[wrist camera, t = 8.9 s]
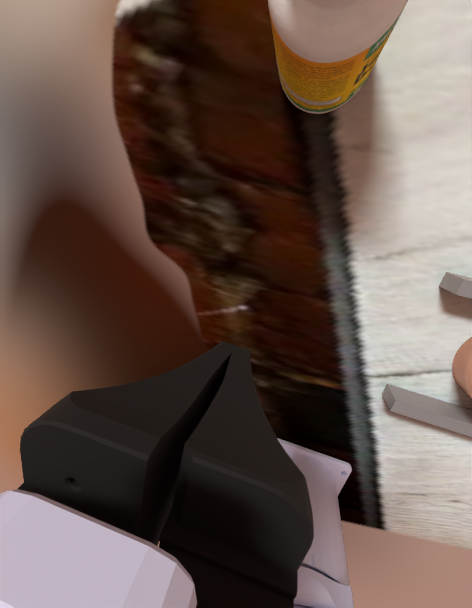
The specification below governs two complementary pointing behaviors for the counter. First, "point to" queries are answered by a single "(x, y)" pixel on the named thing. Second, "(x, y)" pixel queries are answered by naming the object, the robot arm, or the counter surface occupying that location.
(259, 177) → the counter surface
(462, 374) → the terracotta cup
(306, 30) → the supplement bottle
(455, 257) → the counter surface
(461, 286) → the holder
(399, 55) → the counter surface
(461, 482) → the counter surface
